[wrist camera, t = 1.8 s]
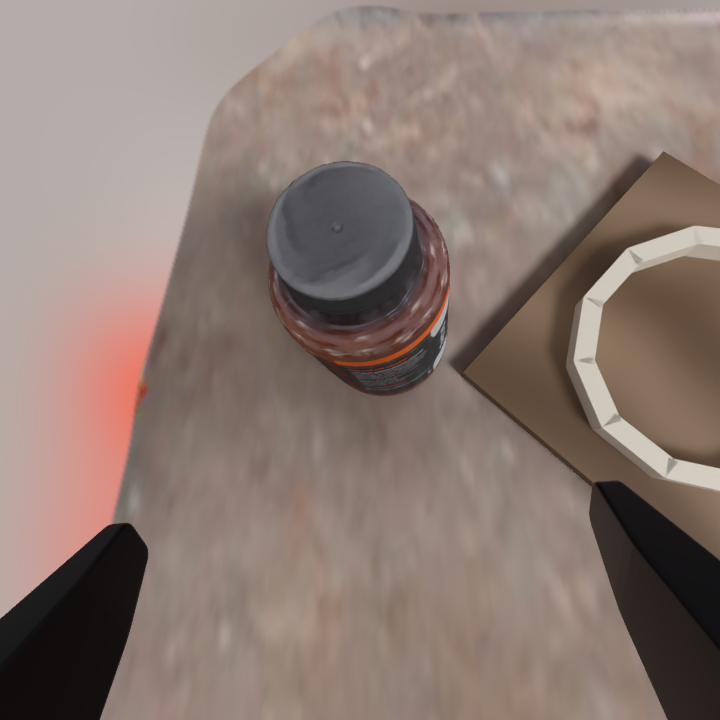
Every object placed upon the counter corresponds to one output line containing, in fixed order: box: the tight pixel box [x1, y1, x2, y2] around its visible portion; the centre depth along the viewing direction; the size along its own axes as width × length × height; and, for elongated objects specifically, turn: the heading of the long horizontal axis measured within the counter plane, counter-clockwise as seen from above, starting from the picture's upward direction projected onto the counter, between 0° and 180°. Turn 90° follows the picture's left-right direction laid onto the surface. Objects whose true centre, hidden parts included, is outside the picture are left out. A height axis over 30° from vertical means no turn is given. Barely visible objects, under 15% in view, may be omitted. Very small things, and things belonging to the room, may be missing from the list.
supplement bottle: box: [267, 161, 450, 396], centre depth 17 cm, size 6×6×11 cm
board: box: [462, 151, 720, 559], centre depth 20 cm, size 14×14×1 cm
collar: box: [566, 226, 720, 492], centre depth 19 cm, size 11×11×1 cm
